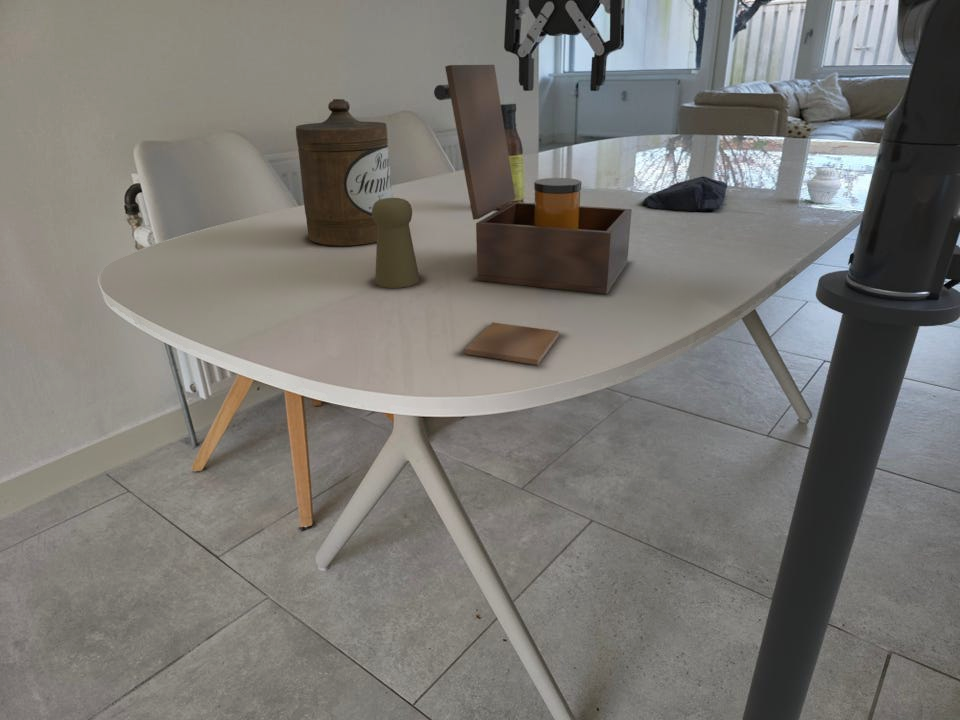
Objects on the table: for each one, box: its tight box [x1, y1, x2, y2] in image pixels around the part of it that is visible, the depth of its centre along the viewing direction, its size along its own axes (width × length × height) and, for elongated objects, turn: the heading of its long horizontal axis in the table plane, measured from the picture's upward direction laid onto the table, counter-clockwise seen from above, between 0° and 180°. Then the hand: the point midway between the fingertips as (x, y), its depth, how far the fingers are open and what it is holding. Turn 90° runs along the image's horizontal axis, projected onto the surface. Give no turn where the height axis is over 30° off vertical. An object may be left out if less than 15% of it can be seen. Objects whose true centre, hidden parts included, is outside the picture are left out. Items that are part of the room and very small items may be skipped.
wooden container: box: [295, 98, 394, 247], centre depth 103 cm, size 15×15×22 cm
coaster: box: [465, 321, 560, 366], centre depth 64 cm, size 8×8×1 cm
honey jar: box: [533, 177, 582, 229], centre depth 84 cm, size 6×6×12 cm
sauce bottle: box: [496, 102, 525, 210], centre depth 123 cm, size 6×6×20 cm
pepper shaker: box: [372, 197, 420, 289], centre depth 82 cm, size 6×6×11 cm
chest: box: [475, 202, 633, 295], centre depth 85 cm, size 18×15×8 cm
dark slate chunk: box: [642, 175, 728, 212], centre depth 129 cm, size 15×22×5 cm
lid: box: [433, 64, 515, 221], centre depth 84 cm, size 18×15×5 cm
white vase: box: [806, 166, 842, 205], centre depth 125 cm, size 6×6×7 cm
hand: (561, 90), depth 77 cm, fingers open, 8 cm apart
